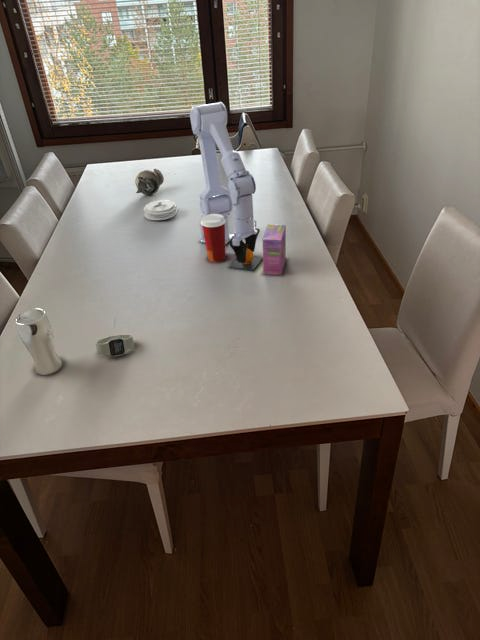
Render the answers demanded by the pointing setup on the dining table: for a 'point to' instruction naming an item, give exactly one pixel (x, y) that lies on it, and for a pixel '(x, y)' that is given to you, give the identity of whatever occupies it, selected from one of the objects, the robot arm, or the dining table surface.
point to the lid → (160, 210)
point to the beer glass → (38, 340)
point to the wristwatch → (115, 344)
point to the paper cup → (214, 236)
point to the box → (274, 249)
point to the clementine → (248, 256)
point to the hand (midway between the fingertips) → (246, 256)
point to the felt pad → (250, 267)
